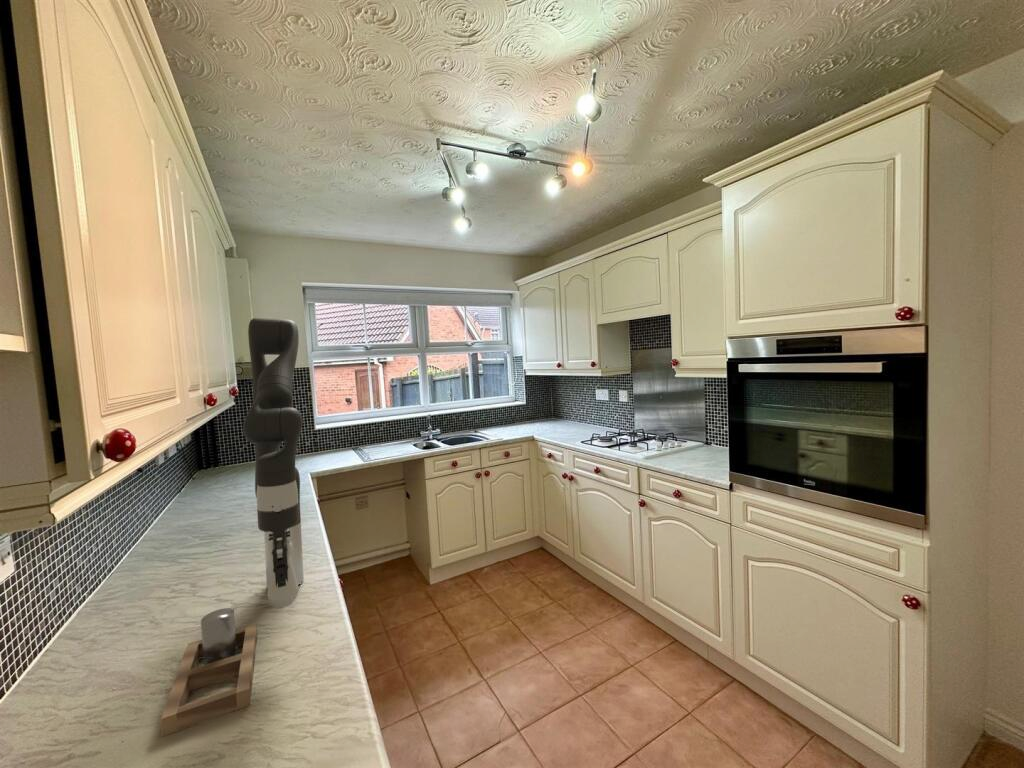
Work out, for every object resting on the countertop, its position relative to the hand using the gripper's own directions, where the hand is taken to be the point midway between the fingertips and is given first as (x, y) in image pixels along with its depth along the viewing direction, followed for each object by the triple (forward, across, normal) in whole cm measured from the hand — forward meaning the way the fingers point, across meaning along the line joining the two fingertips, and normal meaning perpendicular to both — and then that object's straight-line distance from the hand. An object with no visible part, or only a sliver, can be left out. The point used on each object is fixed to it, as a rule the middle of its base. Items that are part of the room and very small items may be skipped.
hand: (282, 583), depth 87 cm
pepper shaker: (+16, -4, -12) cm, 20 cm away
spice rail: (+16, +1, -12) cm, 20 cm away
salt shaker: (+4, 0, 0) cm, 4 cm away
